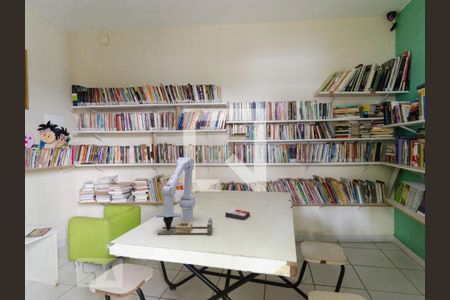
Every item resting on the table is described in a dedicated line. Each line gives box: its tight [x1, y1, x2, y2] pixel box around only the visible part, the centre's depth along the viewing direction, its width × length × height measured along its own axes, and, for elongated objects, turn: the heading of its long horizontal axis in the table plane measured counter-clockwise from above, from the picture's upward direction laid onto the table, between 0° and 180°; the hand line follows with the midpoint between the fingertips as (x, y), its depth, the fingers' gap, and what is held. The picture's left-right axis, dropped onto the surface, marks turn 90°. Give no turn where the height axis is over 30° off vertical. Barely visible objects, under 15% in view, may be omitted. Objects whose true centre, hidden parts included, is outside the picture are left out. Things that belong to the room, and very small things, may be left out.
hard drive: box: [225, 208, 251, 221], centre depth 151 cm, size 11×4×15 cm
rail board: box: [157, 217, 213, 237], centre depth 121 cm, size 12×30×7 cm, turn 90°
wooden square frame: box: [175, 221, 193, 233], centre depth 121 cm, size 8×8×4 cm
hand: (168, 229), depth 121 cm, fingers closed
